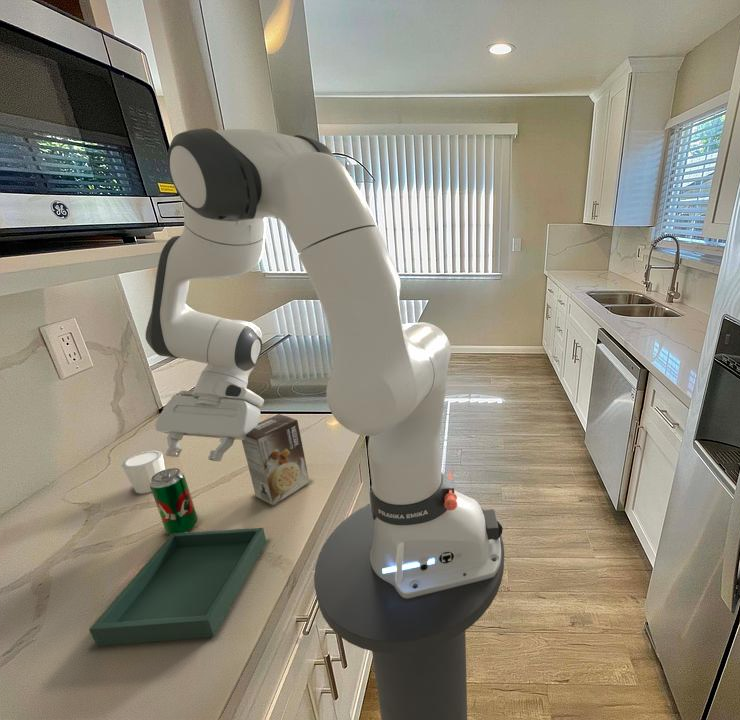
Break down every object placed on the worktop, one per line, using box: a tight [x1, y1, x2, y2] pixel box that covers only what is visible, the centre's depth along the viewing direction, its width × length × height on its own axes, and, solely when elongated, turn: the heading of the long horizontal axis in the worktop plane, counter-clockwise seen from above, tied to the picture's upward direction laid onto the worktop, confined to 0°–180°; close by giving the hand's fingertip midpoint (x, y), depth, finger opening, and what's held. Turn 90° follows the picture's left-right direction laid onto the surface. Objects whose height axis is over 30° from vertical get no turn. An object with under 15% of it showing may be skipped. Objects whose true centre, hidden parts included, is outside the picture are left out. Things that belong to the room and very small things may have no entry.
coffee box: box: [241, 413, 310, 506], centre depth 84 cm, size 9×6×16 cm
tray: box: [88, 527, 267, 647], centre depth 63 cm, size 16×18×3 cm
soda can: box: [150, 467, 199, 536], centre depth 74 cm, size 5×5×12 cm
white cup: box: [121, 450, 166, 494], centre depth 87 cm, size 7×7×7 cm
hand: (192, 458), depth 78 cm, fingers open, 8 cm apart
